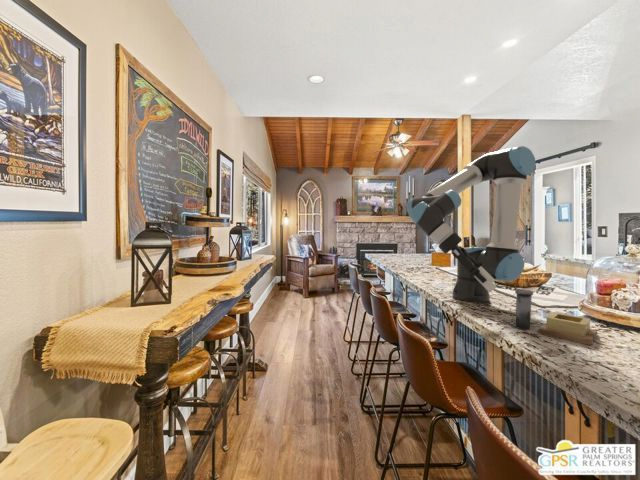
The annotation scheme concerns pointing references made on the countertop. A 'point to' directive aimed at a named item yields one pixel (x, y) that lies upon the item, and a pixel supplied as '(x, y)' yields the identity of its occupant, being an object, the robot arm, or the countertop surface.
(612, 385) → the countertop surface
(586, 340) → the socket base
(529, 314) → the pin
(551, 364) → the countertop surface
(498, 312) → the countertop surface
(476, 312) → the countertop surface
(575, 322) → the square socket frame
